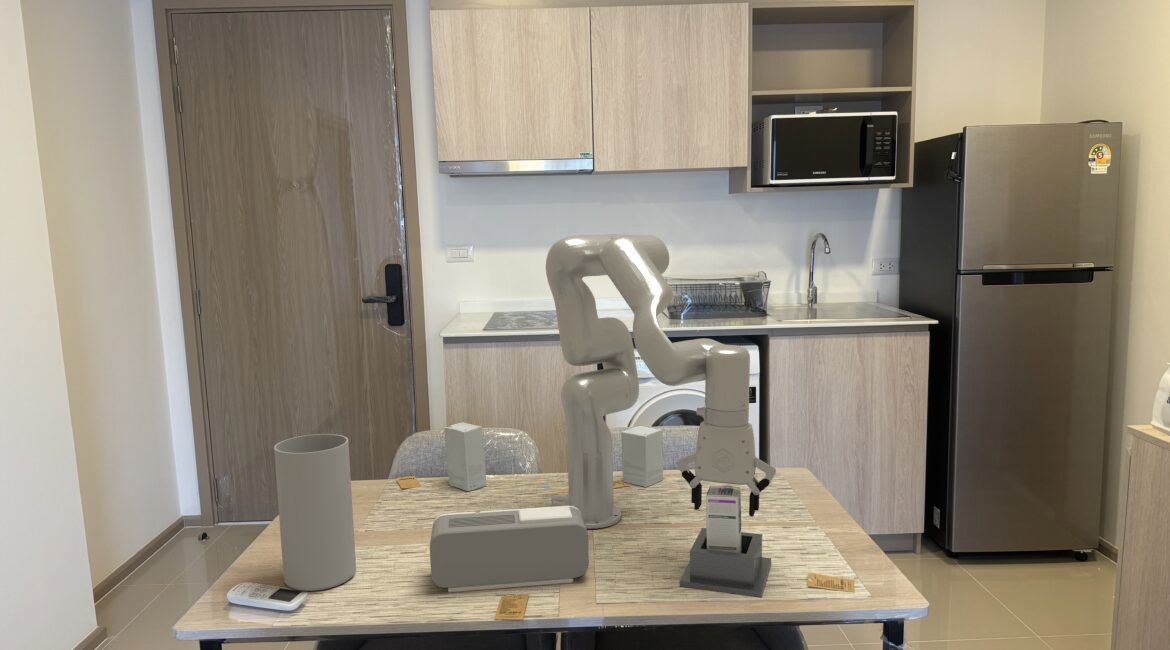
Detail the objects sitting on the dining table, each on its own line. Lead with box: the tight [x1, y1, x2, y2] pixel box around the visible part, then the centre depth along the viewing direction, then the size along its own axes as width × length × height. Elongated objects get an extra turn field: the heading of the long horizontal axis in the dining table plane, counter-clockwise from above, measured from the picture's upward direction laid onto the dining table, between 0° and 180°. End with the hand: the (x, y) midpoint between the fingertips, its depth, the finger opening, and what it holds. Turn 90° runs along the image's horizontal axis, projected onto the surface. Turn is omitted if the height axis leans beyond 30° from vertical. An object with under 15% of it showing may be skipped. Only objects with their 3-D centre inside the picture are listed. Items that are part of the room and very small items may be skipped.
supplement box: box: [620, 425, 664, 488], centre depth 196 cm, size 7×7×13 cm
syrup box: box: [705, 485, 742, 553], centre depth 144 cm, size 6×6×14 cm
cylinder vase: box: [273, 433, 357, 592], centre depth 145 cm, size 12×12×25 cm
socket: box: [679, 527, 772, 598], centre depth 144 cm, size 14×14×6 cm
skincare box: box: [444, 421, 487, 492], centre depth 195 cm, size 8×6×15 cm
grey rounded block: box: [429, 506, 590, 593], centre depth 145 cm, size 27×9×12 cm, turn 98°
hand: (724, 510), depth 143 cm, fingers open, 9 cm apart
